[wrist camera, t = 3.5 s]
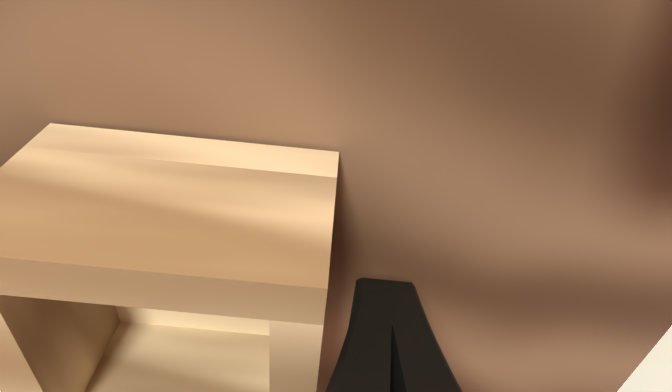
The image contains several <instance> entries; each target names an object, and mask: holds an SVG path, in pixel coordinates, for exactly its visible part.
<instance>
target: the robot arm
mask: <svg viewBox="0 0 672 392" xmlns="http://www.w3.org/2000/svg"><path fill="white" fill-rule="evenodd" d="M325 392H462V390H461V388H460V386H459V385H458V383H457V381H456V379H455V377H454V375H453V373H452V371H451V369H450V367H449V365H448V363H447V361H446V359H445V357H444V355H443V353H442V351H441V349H440V347H439V344H438V342H437V340H436V338H435V336H434V333H433V331H432V329H431V327H430V324H429V322H428V320H427V317H426V315H425V312H424V310H423V307H422V305H421V302H420V299H419V296H418V294H417V291H416V288H415V286H414V285H413V284H412V282H403V281H393V280H382V279H372V278H360V279H358V280H356V284H355V290H354V296H353V302H352V308H351V314H350V320H349V326H348V331H347V334H346V337H345V340H344V343H343V346H342V349H341V352H340V355H339V358H338V361H337V363H336V366H335V369H334V371H333V374H332V376H331V378H330V381H329V383H328V386H327V388H326V391H325Z"/></svg>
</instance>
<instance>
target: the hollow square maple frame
mask: <svg viewBox="0 0 672 392" xmlns="http://www.w3.org/2000/svg"><path fill="white" fill-rule="evenodd" d="M338 160H339V152H335V151H325V150H315V149H305V148H295V147H285V146H275V145H265V144H255V143H245V142H235V141H225V140H215V139H205V138H195V137H185V136H175V135H165V134H155V133H144V132H134V131H124V130H114V129H104V128H94V127H84V126H74V125H64V124H54V123H50V124H49V125H47V126H46V127H45V128H44V129H43V130H42V131H41V132H40V133H38V134H37V135H36V136H35V137H34V138H33V139H32V140H31V141H29V142H28V143H27V144H26V145H25V146H24V147H23V148H22V149H21V150H19V151H18V152H17V153H16V154H15V155H14V156H13V157H12V158H10V159H9V160H8V161H7V162H6V163H5V164H4V165H3V166H1V167H0V391H1V392H316V389H317V380H318V371H319V362H320V353H321V344H322V335H323V326H324V317H325V308H326V299H327V290H328V278H329V266H330V254H331V243H332V231H333V219H334V207H335V195H336V183H337V172H338Z"/></svg>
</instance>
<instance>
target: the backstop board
mask: <svg viewBox="0 0 672 392" xmlns="http://www.w3.org/2000/svg"><path fill="white" fill-rule="evenodd" d="M50 123H54V124H64V125H74V126H84V127H94V128H104V129H114V130H124V131H134V132H144V133H155V134H165V135H175V136H185V137H195V138H205V139H215V140H225V141H235V142H245V143H255V144H265V145H275V146H285V147H295V148H305V149H315V150H325V151H335V152H339V160H338V172H337V183H336V195H335V207H334V219H333V231H332V243H331V254H330V266H329V278H328V290H327V299H326V308H325V317H324V326H323V335H322V344H321V353H320V362H319V371H318V380H317V389H316V392H325V391H326V388H327V386H328V383H329V381H330V378H331V376H332V374H333V371H334V369H335V366H336V363H337V361H338V358H339V355H340V352H341V349H342V346H343V343H344V340H345V337H346V334H347V331H348V326H349V320H350V314H351V308H352V302H353V296H354V290H355V284H356V280H358V279H360V278H372V279H382V280H393V281H403V282H412V284H413V285H414V286H415V288H416V291H417V294H418V296H419V299H420V302H421V305H422V307H423V310H424V312H425V315H426V317H427V320H428V322H429V324H430V327H431V329H432V331H433V333H434V336H435V338H436V340H437V342H438V344H439V347H440V349H441V351H442V353H443V355H444V357H445V359H446V361H447V363H448V365H449V367H450V369H451V371H452V373H453V375H454V377H455V379H456V381H457V383H458V385H459V386H460V388H461V390H462V392H617V391H618V389H619V388H620V387H621V386H622V385H623V383H624V382H625V381H626V380H627V379H628V377H629V376H630V375H631V374H632V373H633V371H634V370H635V369H636V368H637V366H638V365H639V364H640V363H641V362H642V360H643V359H644V358H645V357H646V356H647V354H648V353H649V352H650V351H651V350H652V348H653V347H654V346H655V345H656V344H657V342H658V341H659V340H660V339H661V337H662V336H663V335H664V334H665V333H666V331H667V330H668V329H669V328H670V327H671V325H672V0H0V167H1V166H3V165H4V164H5V163H6V162H7V161H8V160H9V159H10V158H12V157H13V156H14V155H15V154H16V153H17V152H18V151H19V150H21V149H22V148H23V147H24V146H25V145H26V144H27V143H28V142H29V141H31V140H32V139H33V138H34V137H35V136H36V135H37V134H38V133H40V132H41V131H42V130H43V129H44V128H45V127H46V126H47V125H49V124H50Z"/></svg>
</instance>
